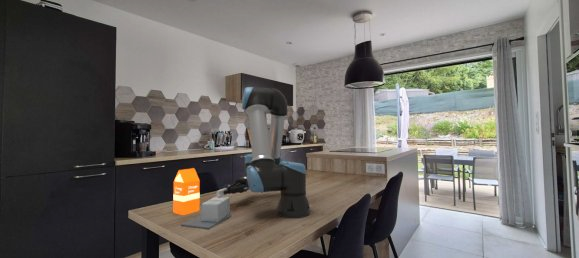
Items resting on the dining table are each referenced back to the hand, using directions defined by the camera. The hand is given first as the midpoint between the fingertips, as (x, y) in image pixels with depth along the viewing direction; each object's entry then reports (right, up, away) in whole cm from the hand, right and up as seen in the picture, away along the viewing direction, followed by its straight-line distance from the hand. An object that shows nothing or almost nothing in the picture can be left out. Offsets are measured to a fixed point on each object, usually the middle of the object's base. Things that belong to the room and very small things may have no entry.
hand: (217, 194), depth 111 cm
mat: (-2, -9, -8) cm, 12 cm away
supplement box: (+2, -5, +2) cm, 6 cm away
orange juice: (-17, -10, +6) cm, 20 cm away
